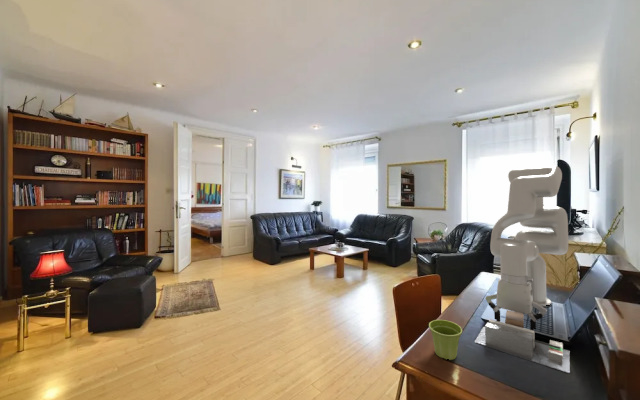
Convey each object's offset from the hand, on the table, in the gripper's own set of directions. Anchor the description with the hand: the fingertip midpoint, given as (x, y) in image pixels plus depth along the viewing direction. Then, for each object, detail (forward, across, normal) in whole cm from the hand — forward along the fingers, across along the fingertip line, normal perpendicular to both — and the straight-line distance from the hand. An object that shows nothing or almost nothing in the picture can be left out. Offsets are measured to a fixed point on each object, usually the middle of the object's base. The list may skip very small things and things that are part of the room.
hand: (514, 326), depth 92 cm
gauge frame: (+2, -2, +9) cm, 10 cm away
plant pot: (+2, +14, +28) cm, 31 cm away
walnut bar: (+2, 0, 0) cm, 2 cm away
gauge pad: (+2, -3, +8) cm, 9 cm away
